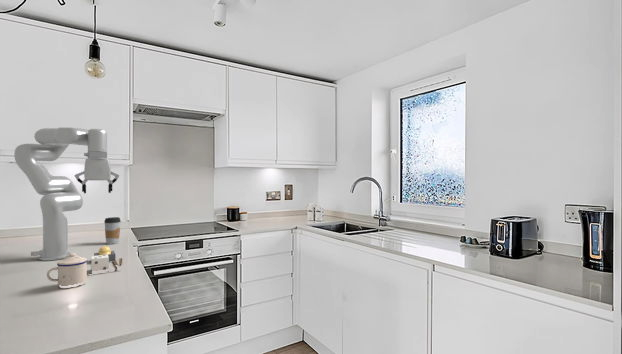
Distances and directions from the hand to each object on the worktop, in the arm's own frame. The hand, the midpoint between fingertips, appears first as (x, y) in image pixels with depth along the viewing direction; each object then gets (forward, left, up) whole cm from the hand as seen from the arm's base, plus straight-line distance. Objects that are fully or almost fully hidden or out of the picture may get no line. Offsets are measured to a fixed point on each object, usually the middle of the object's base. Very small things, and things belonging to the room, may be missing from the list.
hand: (97, 193), depth 152 cm
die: (0, -16, -32) cm, 36 cm away
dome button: (+3, +2, -32) cm, 32 cm away
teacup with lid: (-11, -31, -32) cm, 46 cm away
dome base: (+3, +2, -32) cm, 33 cm away
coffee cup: (+10, +44, -32) cm, 56 cm away
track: (0, -11, -32) cm, 34 cm away
